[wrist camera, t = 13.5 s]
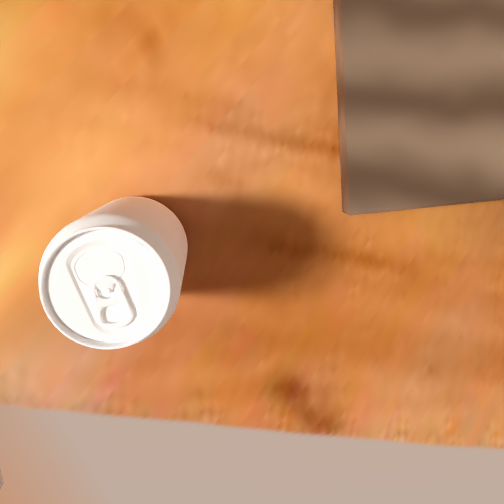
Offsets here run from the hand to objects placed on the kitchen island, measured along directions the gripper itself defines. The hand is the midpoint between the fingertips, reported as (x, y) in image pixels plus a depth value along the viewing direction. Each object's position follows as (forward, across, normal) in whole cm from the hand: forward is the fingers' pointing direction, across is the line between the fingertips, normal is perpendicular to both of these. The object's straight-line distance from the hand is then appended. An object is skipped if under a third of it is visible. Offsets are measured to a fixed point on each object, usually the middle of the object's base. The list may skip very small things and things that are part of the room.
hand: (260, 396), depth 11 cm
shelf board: (+27, +21, +8) cm, 35 cm away
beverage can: (+27, -7, -1) cm, 28 cm away
